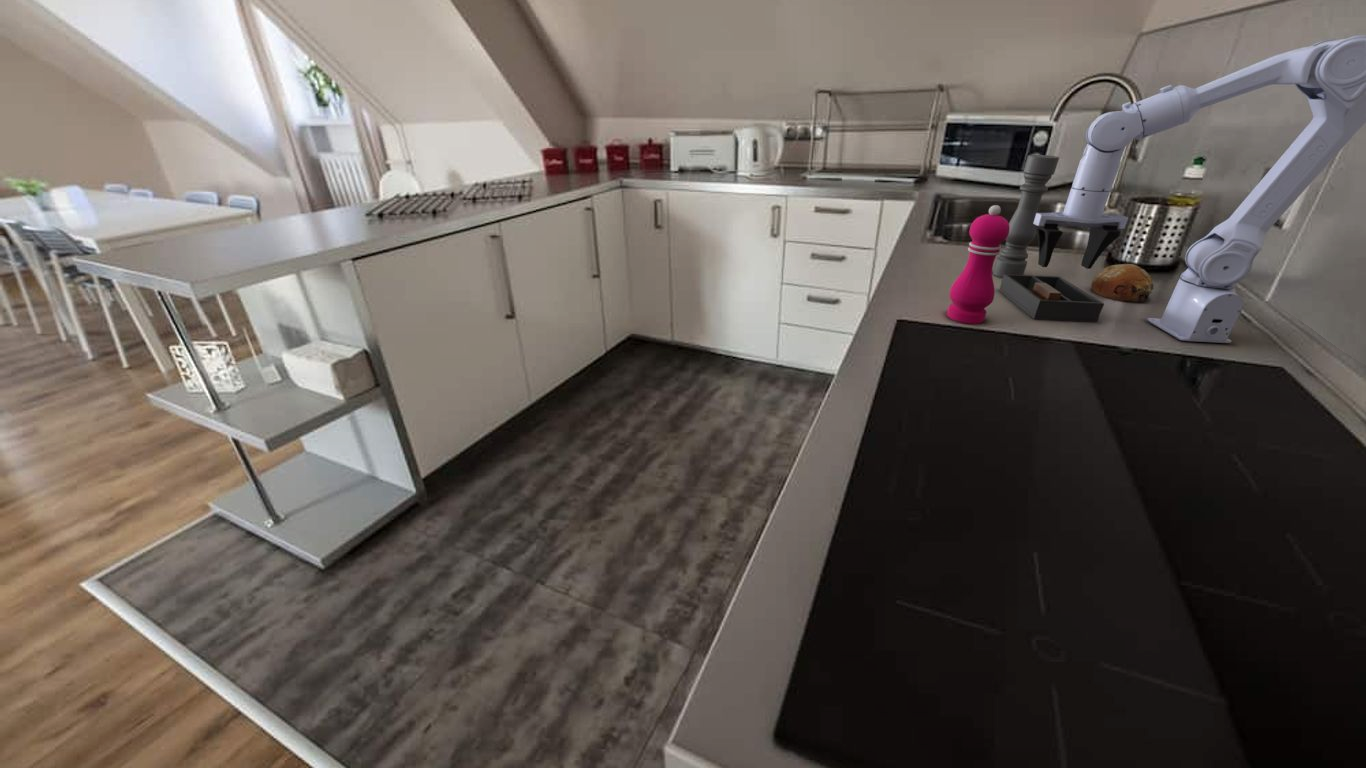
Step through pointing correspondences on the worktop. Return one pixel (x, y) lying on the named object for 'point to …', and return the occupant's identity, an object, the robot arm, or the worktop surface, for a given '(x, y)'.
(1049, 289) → the brown block
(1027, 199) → the candle holder
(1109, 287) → the bread roll
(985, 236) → the pepper mill
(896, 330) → the worktop surface
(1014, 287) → the organizer
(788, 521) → the worktop surface
